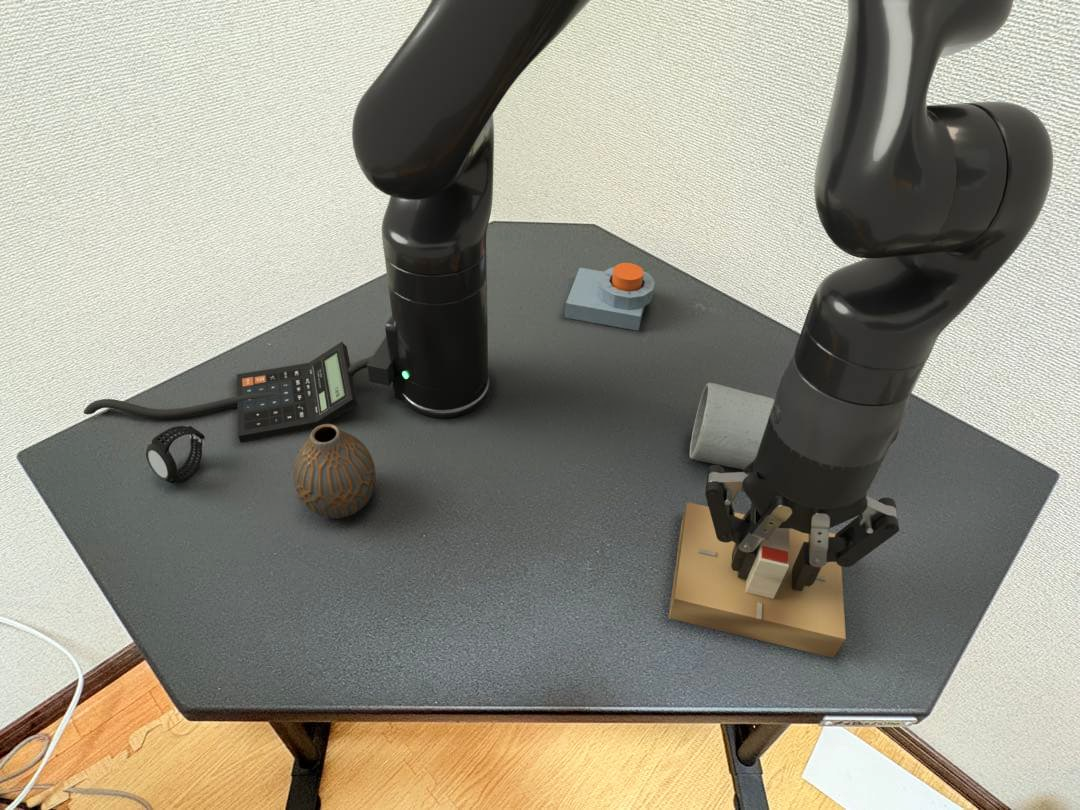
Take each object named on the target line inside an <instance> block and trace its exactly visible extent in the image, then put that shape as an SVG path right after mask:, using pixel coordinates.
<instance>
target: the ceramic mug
mask: <svg viewBox="0 0 1080 810" xmlns="http://www.w3.org/2000/svg"><path fill="white" fill-rule="evenodd" d="M774 400H775V398H772V397H769V396H767V395H766V396H765V395H762V394H757V393H753V392H748V391H744V390H740V389H738V388H734V387H729V386H726V385H722V384H718V383H714V382H707V383H706V384H705V386H704V387H703V390H702V393H701V395H700V400H699V403H698V407H697V411H696V415H695V419H694V422H693V428H692V433H691V440H690V445H689V458H690V459H691V460H693V461H698V462H702V463H708V464H712V465H718V466H721V467H722V466H723V467H728V468H734V469H738V470H743V471H744V469H745V467H746V466H747V465H749V464H750V463H751V462H753V461H754V459H755V458H756V455H757V452H758V449H759V446H760V443H761V440H762V437H763V434H764V431H765V428H766V425H767V422H768V418H769V415H770V412H771V409H772V406H773V403H774Z"/></svg>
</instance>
